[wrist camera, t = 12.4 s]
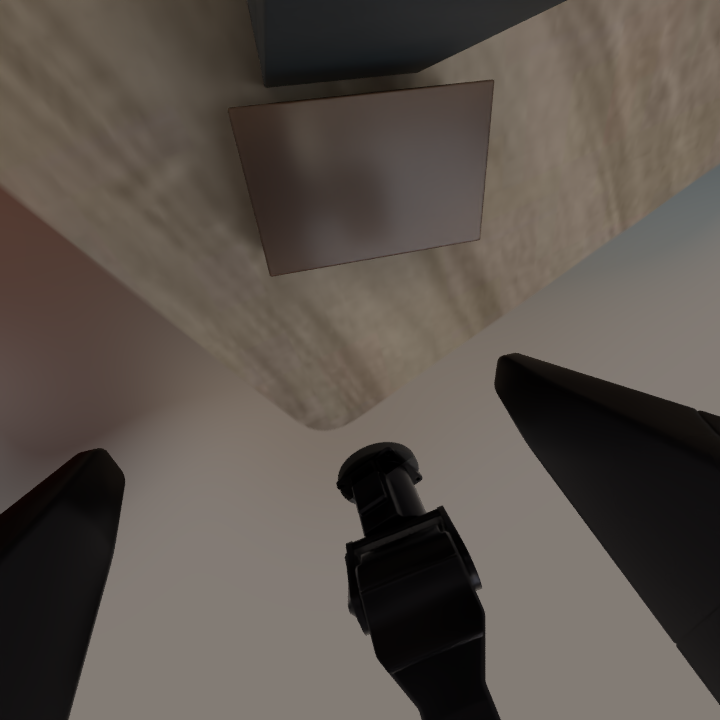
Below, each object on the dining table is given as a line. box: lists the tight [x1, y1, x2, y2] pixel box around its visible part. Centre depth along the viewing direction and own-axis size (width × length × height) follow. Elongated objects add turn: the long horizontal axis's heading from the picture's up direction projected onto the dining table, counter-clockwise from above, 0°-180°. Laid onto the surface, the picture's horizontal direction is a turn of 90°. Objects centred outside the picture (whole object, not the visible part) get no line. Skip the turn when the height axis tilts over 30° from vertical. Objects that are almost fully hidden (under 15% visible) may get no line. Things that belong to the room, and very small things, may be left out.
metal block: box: [228, 80, 494, 276], centre depth 16 cm, size 6×10×4 cm, turn 96°
